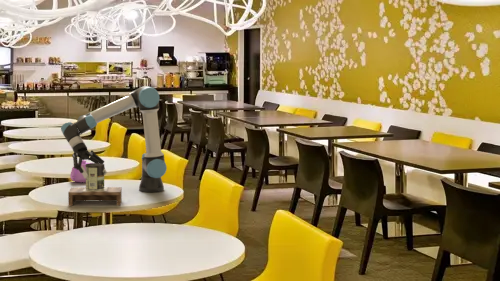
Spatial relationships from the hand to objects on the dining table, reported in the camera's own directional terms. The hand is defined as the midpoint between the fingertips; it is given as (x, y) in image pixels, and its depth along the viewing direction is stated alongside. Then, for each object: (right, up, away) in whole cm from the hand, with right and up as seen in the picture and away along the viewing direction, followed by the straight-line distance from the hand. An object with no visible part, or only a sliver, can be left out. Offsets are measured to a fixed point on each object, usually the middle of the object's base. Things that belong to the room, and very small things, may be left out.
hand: (96, 175), depth 386 cm
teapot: (-21, -8, +66) cm, 69 cm away
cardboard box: (-1, -15, +2) cm, 16 cm away
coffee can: (-1, -8, +1) cm, 8 cm away
